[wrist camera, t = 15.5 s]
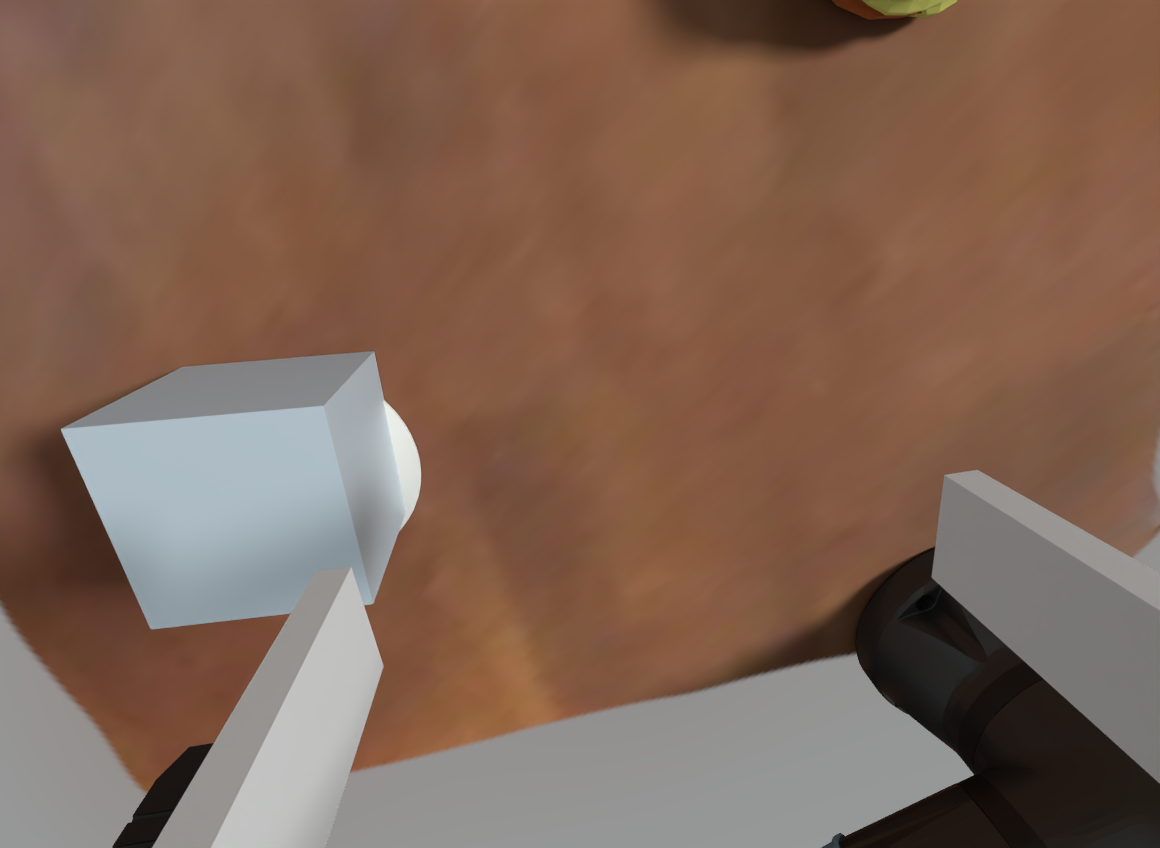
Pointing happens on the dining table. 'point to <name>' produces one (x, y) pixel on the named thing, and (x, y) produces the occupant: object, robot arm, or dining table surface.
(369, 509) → the pale blue cuboid
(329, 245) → the dining table surface
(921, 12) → the cheeseburger
